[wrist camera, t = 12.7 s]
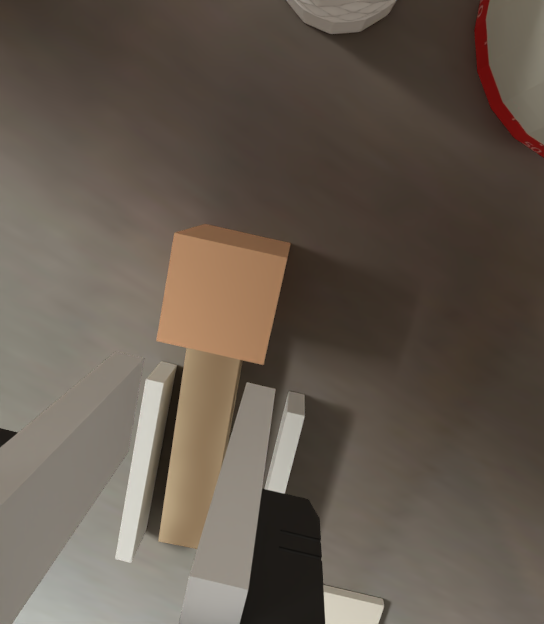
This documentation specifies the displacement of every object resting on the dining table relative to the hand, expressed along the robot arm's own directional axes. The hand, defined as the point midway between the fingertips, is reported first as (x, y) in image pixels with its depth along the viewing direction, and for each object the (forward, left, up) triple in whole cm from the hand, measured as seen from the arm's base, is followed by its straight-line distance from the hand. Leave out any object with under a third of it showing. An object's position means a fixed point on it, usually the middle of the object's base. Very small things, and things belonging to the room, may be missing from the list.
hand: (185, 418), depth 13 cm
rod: (-1, -9, -17) cm, 19 cm away
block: (-1, +1, -17) cm, 17 cm away
